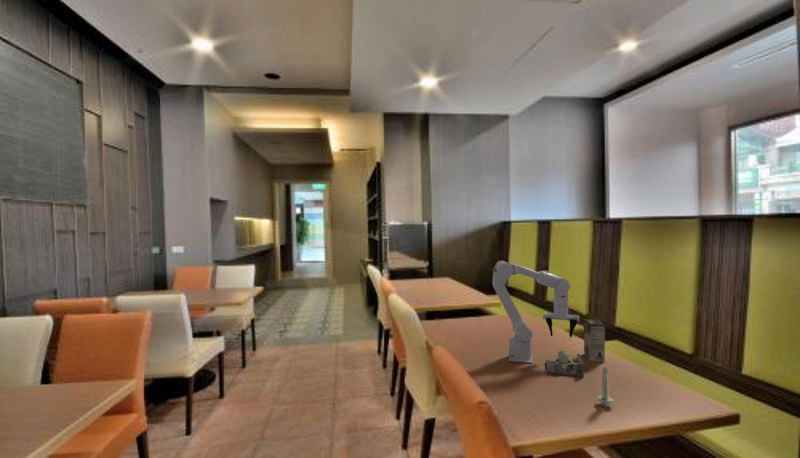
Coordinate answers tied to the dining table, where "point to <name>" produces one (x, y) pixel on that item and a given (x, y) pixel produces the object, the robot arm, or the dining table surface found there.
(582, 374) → the cup bracket
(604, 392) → the screw
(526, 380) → the dining table surface
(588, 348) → the coffee box
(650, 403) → the dining table surface
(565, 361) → the grey-green rounded cylinder
